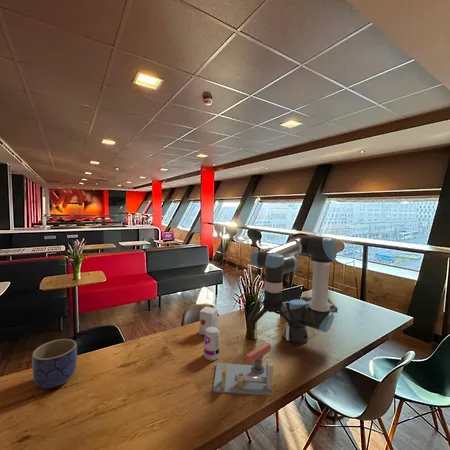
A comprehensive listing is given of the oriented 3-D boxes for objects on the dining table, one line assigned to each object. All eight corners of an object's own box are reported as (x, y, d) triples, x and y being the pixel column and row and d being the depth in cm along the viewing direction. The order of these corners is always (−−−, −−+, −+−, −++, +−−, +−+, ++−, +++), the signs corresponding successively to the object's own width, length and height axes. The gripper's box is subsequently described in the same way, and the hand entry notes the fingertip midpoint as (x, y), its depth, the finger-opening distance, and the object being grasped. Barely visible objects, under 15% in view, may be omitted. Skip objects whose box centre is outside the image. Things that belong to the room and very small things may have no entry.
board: (266, 368, 124) (266, 354, 124) (271, 397, 105) (271, 381, 104) (216, 364, 126) (217, 351, 125) (212, 393, 106) (213, 377, 106)
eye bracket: (242, 381, 113) (243, 364, 112) (242, 390, 107) (243, 373, 106) (222, 379, 113) (222, 363, 113) (221, 389, 107) (221, 372, 107)
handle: (266, 348, 129) (266, 340, 129) (273, 352, 126) (273, 344, 125) (243, 362, 117) (244, 353, 116) (251, 366, 113) (251, 358, 113)
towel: (335, 313, 189) (336, 304, 187) (318, 320, 180) (319, 310, 178) (319, 303, 202) (320, 294, 200) (302, 309, 193) (303, 300, 191)
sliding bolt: (271, 384, 110) (272, 361, 110) (271, 390, 107) (273, 365, 106) (234, 382, 111) (235, 358, 111) (234, 387, 108) (235, 363, 107)
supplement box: (198, 334, 155) (199, 311, 154) (205, 327, 164) (205, 305, 163) (211, 337, 152) (212, 313, 151) (217, 330, 160) (218, 308, 159)
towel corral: (327, 301, 218) (327, 297, 218) (337, 311, 196) (337, 308, 196) (298, 299, 219) (299, 296, 219) (305, 310, 197) (305, 306, 197)
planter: (43, 399, 100) (42, 364, 99) (26, 383, 109) (25, 350, 108) (84, 376, 114) (84, 345, 113) (66, 363, 123) (65, 334, 122)
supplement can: (207, 362, 127) (208, 334, 126) (201, 354, 134) (202, 327, 133) (221, 358, 131) (222, 331, 130) (215, 350, 138) (215, 324, 137)
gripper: (300, 288, 109) (298, 334, 110) (244, 286, 110) (242, 331, 112) (305, 294, 101) (302, 344, 103) (244, 292, 103) (242, 340, 104)
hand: (271, 337), depth 107 cm, fingers open, 13 cm apart
